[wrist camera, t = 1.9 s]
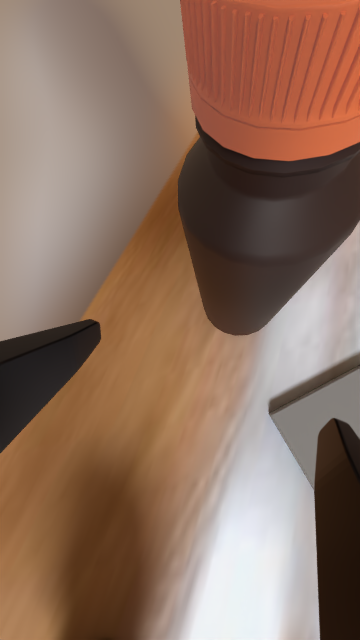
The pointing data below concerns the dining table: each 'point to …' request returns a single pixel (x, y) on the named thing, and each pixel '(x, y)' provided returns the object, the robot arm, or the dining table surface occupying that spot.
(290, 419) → the mat
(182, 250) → the dining table surface
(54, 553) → the dining table surface
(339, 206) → the brown bottle
